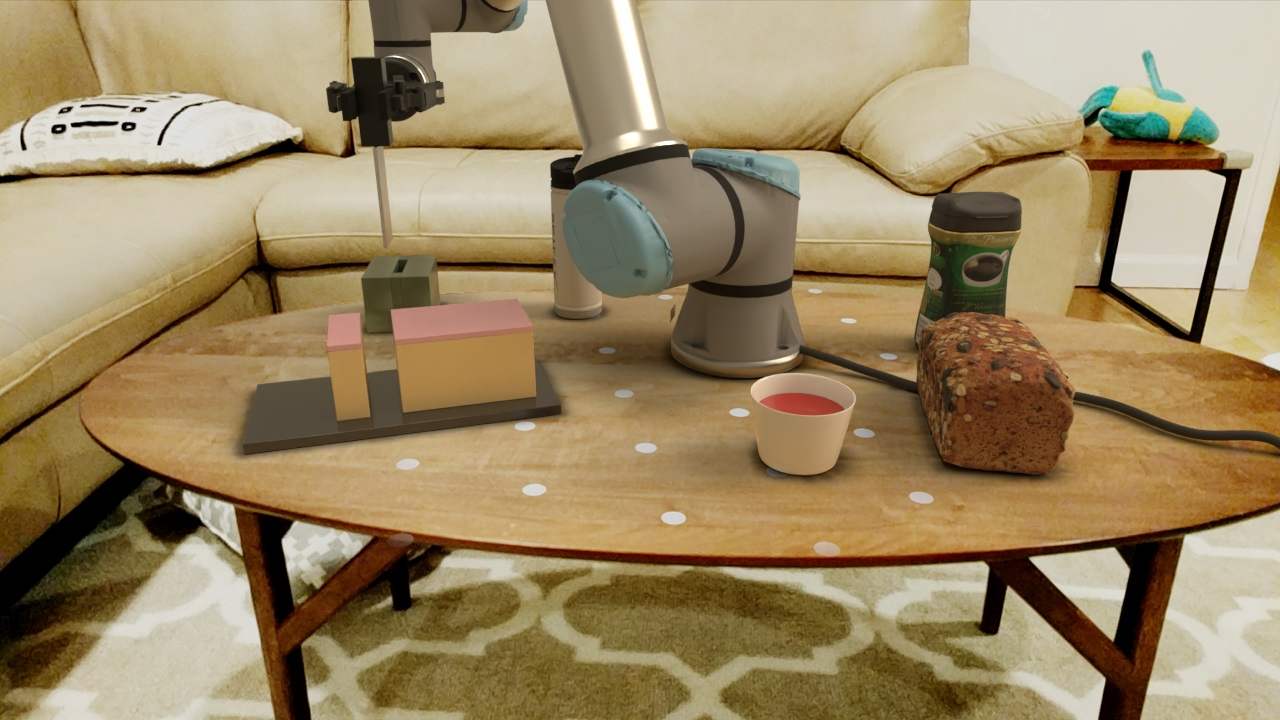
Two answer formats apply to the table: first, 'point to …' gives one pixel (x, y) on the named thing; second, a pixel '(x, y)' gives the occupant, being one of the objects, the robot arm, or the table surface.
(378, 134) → the kitchen knife
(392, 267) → the knife block
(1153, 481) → the table surface
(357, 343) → the cake slice
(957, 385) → the bread
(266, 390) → the cake board
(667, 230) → the robot arm
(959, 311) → the coffee jar
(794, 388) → the candle
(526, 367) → the cake loaf
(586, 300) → the travel mug
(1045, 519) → the table surface
